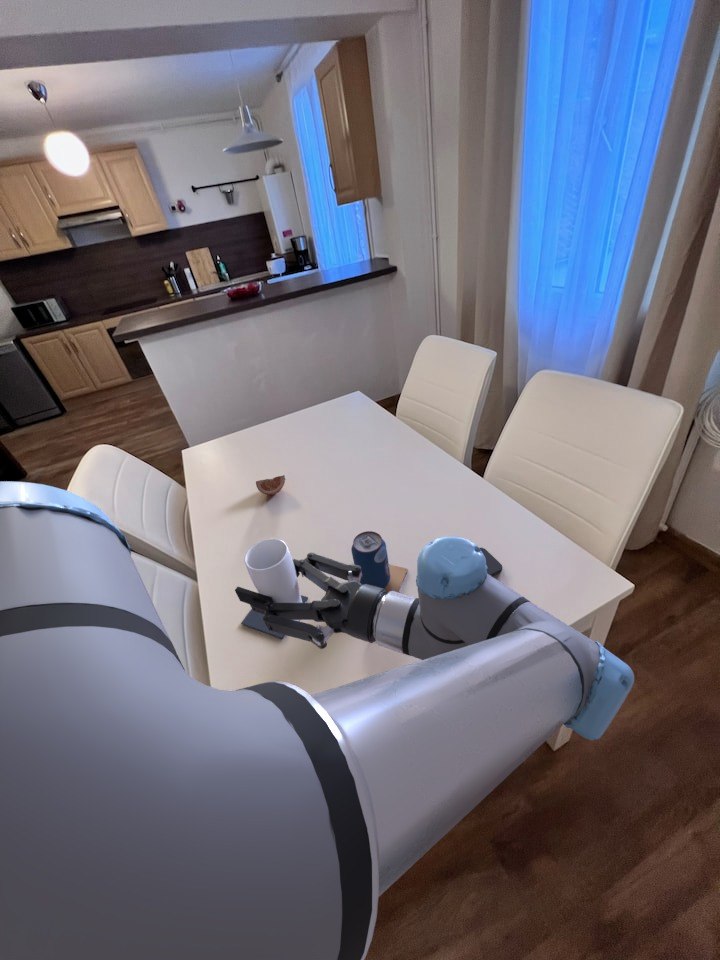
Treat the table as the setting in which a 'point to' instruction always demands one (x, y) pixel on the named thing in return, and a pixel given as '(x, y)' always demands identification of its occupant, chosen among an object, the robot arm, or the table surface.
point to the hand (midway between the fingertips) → (252, 577)
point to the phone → (491, 563)
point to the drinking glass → (273, 571)
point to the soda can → (371, 558)
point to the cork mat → (395, 578)
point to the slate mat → (257, 622)
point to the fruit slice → (271, 485)
